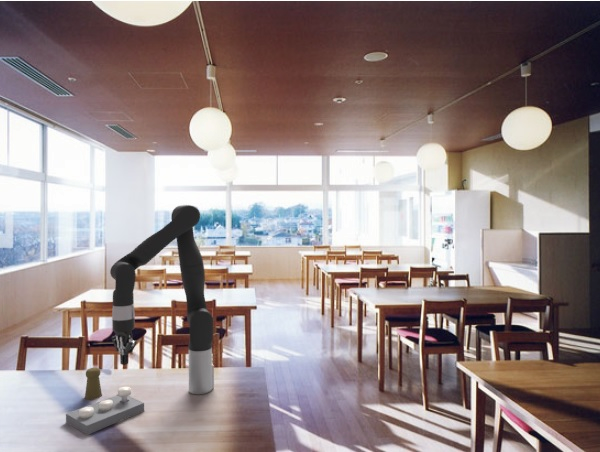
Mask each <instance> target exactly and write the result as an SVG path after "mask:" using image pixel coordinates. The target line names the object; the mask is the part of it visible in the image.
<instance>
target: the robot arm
mask: <svg viewBox="0 0 600 452" xmlns="http://www.w3.org/2000/svg"><path fill="white" fill-rule="evenodd" d="M170 218H171V221H169V223H167V225H165V226H164V227H162V228H160V229H159V230H158V231H157V232H155V233H153V234H151V235H150V236H148V237H147V238H146V239H144V240H143V241H142V242H141V243H140V244H138V246H136V247H135V248H134V249H133V250H131V252H129V253H127V254H126V255H124V256H123V257H121V258H120V259H118V260H117V261H116V262H115V263H114V264H113V265H112V266H111V268H110V271H109V274H110V277H112V279H113V280H115V283H114V284H115V285H114V286H115V289H114V290H113V292H112V310H111V311H112V313H111V316H112V319H111V321H112V325H111V327H112V328H111V329H112V331H113V332H114V333H115V334H114V336H111V341H112V343H113V345H114V349H115V350H116V353H117V352H118V354H119V356H120V357H119V358H120V365H122V366H126V365H128V364H129V354H132V353H133V351H134V350H135V347H136V345H137V343H138V342H137V340H134V339H133V333H132V332H133V330H135V327H136V325H135V324H136V321H135V320H136V318H135V317H136V316H135V312H136V311H135V305H134V300H135V299H134V290H135V284H136V278H137V277H136V270H137V269H138V268H139V267H142V266H145V265H147V264H148V263H149V262H150V261H152V260H153V258H155V257H157V255H158V254H159V253H161V252H162V251H163V250H164V249H165V248H166V247H167V246H168V245H170V244H171V243H172V242H173V241H176V245H177V253H178V259H179V268H180V276H181V281H182V286H183V289H184V294H185V297H186V298H185V299H186V320H187V324H188V325H189V341H188V392H189V394H193V395H204V394H208V393H210V392H211V391H212V390H213V389H214V388H215V365H214V364H213V340H214V318H213V315H212V313H210V311H209V309H208V307H207V303H206V298H205V283H206V279H205V278H206V272H205V265H204V261H203V260H204V258H203V257H202V253H201V251H200V249H199V246H198V245H197V242H196V240H195V233H194V227H195V226H197V225H198V223H199V222H200V219H201V211H200V210H199V209H198V207H196V206H195V205H191V204H183V205H178V206H175V208H174V209H173V210H172V212H171V217H170Z"/></svg>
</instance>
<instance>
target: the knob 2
mask: <svg viewBox="0 0 600 452" xmlns="http://www.w3.org/2000/svg"><path fill="white" fill-rule="evenodd" d="M131 394H132V389H131V387H130V386H122V387H119V388H117V395H118V396H119V397H121V403H125V402H127V396H130V395H131Z"/></svg>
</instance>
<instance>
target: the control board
mask: <svg viewBox="0 0 600 452" xmlns="http://www.w3.org/2000/svg"><path fill="white" fill-rule="evenodd" d="M104 400H112V401H113V408H112V409H110V410H107V411H100V410H99V403H100V402H101V401H104ZM85 407H93V408H94V415H93V416H92V417H89V418H85V419H82V418H79V410H80V409H82V408H85ZM143 412H145V402H143V401H141V400H138V399H136V398H134V397H132V396H130V395H129V396H127V402H125V403H121V397H119V396H118V394H117V395H114V396H111V397H108V398H105V399H103V400H99V401H97V402H94V403H92V404H89V405H86V406H82V407H80V408H78V409H75V410H72V411H70V412H67V413H65V424H68V425H70V426H71V427H73V428H75V429H77V430H78V431H80V432H82V433H83V434H84V435H87V436H88V435H90V434H92V433H93V434H94V433H95V432H97V431H99V430H102V429H104V428H107V427H109V426H111V425H113V424H117V423H119V422H121V421H123V420H124V421H125V420H126V419H128V418H130V417H133V416H136V415H138V414H141V413H143Z"/></svg>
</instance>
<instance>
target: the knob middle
mask: <svg viewBox="0 0 600 452" xmlns="http://www.w3.org/2000/svg"><path fill="white" fill-rule="evenodd" d="M103 400H104V401H102V400H100V401H101V402H100V401H99V402H100V403H99V410H100V411H107V410H110V409H112V408H113V401H112V400H105V399H103Z"/></svg>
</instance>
